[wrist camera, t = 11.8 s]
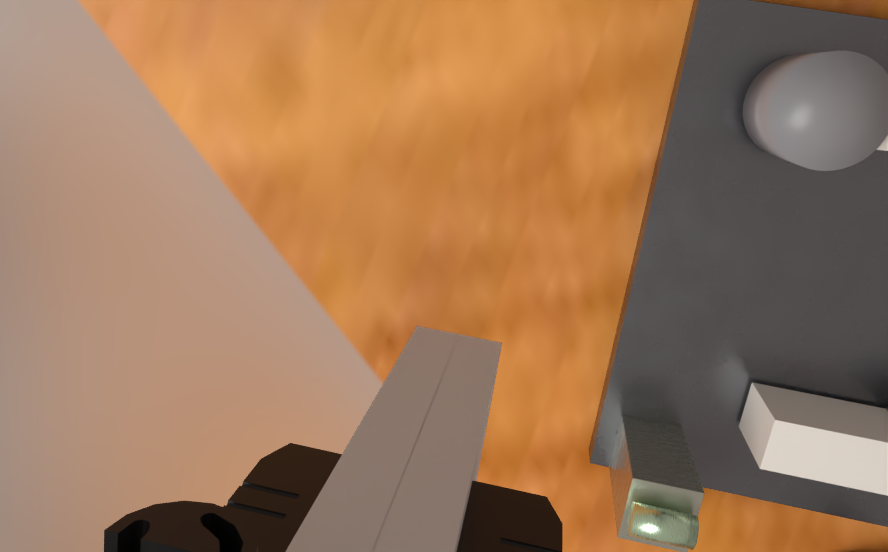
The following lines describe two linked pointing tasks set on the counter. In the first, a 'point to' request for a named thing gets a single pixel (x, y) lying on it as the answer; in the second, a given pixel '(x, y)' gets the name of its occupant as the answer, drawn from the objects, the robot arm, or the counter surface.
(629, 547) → the counter surface
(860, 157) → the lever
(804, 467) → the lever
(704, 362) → the level base
